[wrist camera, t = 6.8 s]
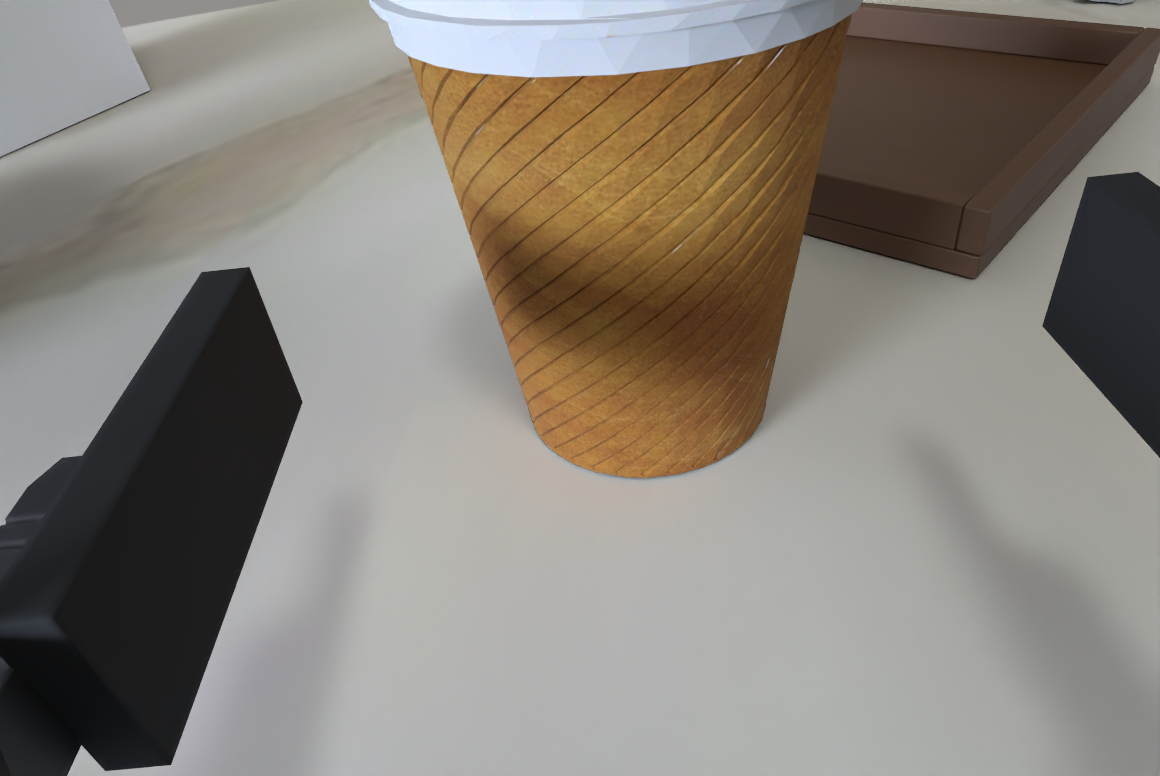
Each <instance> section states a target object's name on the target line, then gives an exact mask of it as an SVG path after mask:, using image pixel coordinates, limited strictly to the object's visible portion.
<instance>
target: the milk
mask: <svg viewBox="0 0 1160 776" xmlns="http://www.w3.org/2000/svg"><path fill="white" fill-rule="evenodd" d="M149 90H150V88H149V86H148V84H147V82H146V79H145V77H144V75H143V73H142V71H141V69H140V67H139V65H138V62H137V60H136V58H135V56H134V54H133V52H132V50H131V48H130V46H129V43H128V41H127V39H126V37H125V35H124V33H123V31H122V29H121V26H120V25H119V22H118V20H117V18H116V16H115V14H114V12H113V10H112V7H111V5H110V4H109V1H108V0H0V157H1V156H3V155H5V154H8V153H10V152H12V151H14V150H17V149H19V148H21V147H23V146H26V145H28V144H30V143H32V142H35V141H37V140H39V139H41V138H44V137H46V136H48V135H50V134H53V133H55V132H57V131H59V130H62V129H64V128H66V127H68V126H71V125H73V124H75V123H77V122H80V121H82V120H84V119H86V118H89V117H91V116H93V115H95V114H98V113H100V112H102V111H104V110H107V109H109V108H111V107H113V106H116V105H118V104H120V103H122V102H125V101H127V100H129V99H131V98H134V97H136V96H138V95H140V94H143V93H145V92H147V91H149Z"/></svg>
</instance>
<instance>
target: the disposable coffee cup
mask: <svg viewBox="0 0 1160 776" xmlns="http://www.w3.org/2000/svg"><path fill="white" fill-rule="evenodd" d="M862 1H863V0H369V2H370V6H371V7H372V8H373V9H374V11H375V12H376V13H377V14H378V15H379V16H380V18H381V19H382V20H385V21H388V24H389V28H390V31H391V34H392V37H393V40H394V43H395V45H396V46H397V47H398V48H400V49H401V50H402V51H403V52H405V53H406V54H407V55H408V57H409V60H410V64H411V66H412V68H413V70H414V73H415V77H416V80H417V83H418V87H419V90H420V93H421V96H422V98H423V100H424V102H425V105H426V108H427V111H428V114H429V117H430V120H431V123H432V125H433V129H434V132H435V135H436V138H437V141H438V144H439V147H440V149H441V152H442V155H443V158H444V161H445V164H446V167H447V170H448V173H449V176H450V179H451V182H452V184H453V188H454V191H455V194H456V197H457V200H458V203H459V205H460V208H461V210H462V214H463V217H464V220H465V223H466V226H467V229H468V232H469V234H470V236H471V237H470V238H471V241H472V244H473V246H474V249H475V252H476V255H477V258H478V262H479V265H480V268H481V270H482V273H483V276H484V279H485V282H486V285H487V288H488V291H489V294H490V297H491V300H492V302H493V305H494V306H495V308H494V309H495V312H496V314H497V317H498V320H499V323H500V326H501V329H502V332H503V335H504V338H505V341H506V343H507V346H508V349H509V352H510V355H511V358H512V361H513V364H514V367H515V370H516V373H517V376H518V379H519V382H520V385H521V386H522V387H521V388H522V391H523V394H524V397H525V400H526V403H527V404H528V408H529V412H530V415H531V419H532V422H533V424H534V427H535V429H536V431H537V433H538V434H539V436H540V437H541V439H542V440H543V442H544V443H545V444H547V445H548V446H549V447H550V448H551V449H552V450H553V451H554V452H555V453H557V454H558V455H560V456H561V457H563V458H565V459H567V460H568V461H570V462H572V463H574V464H575V465H578V466H581V467H584V468H587V469H589V470H592V471H595V472H599V473H605V474H611V475H617V476H623V477H639V478H649V477H658V476H667V475H675V474H680V473H684V472H687V471H691V470H695V469H699V468H702V467H704V466H707V465H709V464H712V463H714V462H716V461H719V460H721V459H722V458H724V457H725V456H727V455H729V454H730V453H732V452H733V451H735V450H737V449H738V448H739V447H740V446H741V445H742V444H743V443H744V442H745V441H746V440H748V439H749V438H750V437H751V436H752V434H753V433H754V431H755V430H756V428H757V427H758V425H759V424H760V422H761V420H762V417H763V413H764V410H765V407H766V399H767V395H768V390H769V385H770V381H771V376H772V372H773V367H774V363H775V358H776V353H777V349H778V345H779V340H780V335H781V331H782V327H783V322H784V317H785V313H786V308H787V304H788V300H789V295H790V291H791V286H792V282H793V278H794V274H795V268H796V264H797V260H798V255H799V251H800V245H801V241H802V237H803V233H804V228H805V222H806V218H807V214H808V210H809V205H810V201H811V195H812V191H813V187H814V182H815V178H816V174H817V168H818V164H819V160H820V155H821V151H822V147H823V142H824V137H825V132H826V128H827V124H828V119H829V115H830V110H831V105H832V101H833V97H834V92H835V88H836V84H837V78H838V74H839V69H840V65H841V60H842V56H843V52H844V47H845V41H846V37H847V32H848V29H849V26H850V22H851V18H852V13H853V12H855V11H856V10H858V8H859V7H860V5H861V3H862Z"/></svg>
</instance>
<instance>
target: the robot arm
mask: <svg viewBox="0 0 1160 776" xmlns="http://www.w3.org/2000/svg"><path fill="white" fill-rule="evenodd" d="M1043 327H1044V328H1045V329H1046V331H1047V332H1048V333H1049V334H1050V335H1051V336H1052V337H1053V338H1054V340H1055V341H1056V342H1057V343H1058V344H1059V345H1060V346H1061V347H1062V349H1063V350H1064V351H1065V352H1066V353H1067V354H1068V355H1069V356H1070V358H1071V359H1072V360H1073V361H1074V362H1075V363H1076V364H1077V365H1078V366H1079V368H1080V369H1081V370H1082V371H1083V372H1084V373H1085V374H1086V375H1087V377H1088V378H1089V379H1090V380H1091V381H1092V382H1093V383H1094V384H1095V386H1096V387H1097V388H1098V389H1099V390H1100V391H1101V392H1102V393H1103V395H1104V396H1105V397H1106V398H1107V399H1108V400H1109V401H1110V402H1111V403H1112V405H1113V406H1114V407H1115V408H1116V409H1117V410H1118V411H1119V412H1120V414H1121V415H1122V416H1123V417H1124V418H1125V419H1126V420H1127V421H1128V423H1129V424H1130V425H1131V426H1132V427H1133V428H1134V429H1135V430H1136V432H1137V433H1138V434H1139V435H1140V436H1141V437H1142V438H1143V439H1144V441H1145V442H1146V443H1147V444H1148V445H1149V446H1150V447H1151V448H1152V449H1153V451H1154V452H1155V453H1156V454H1157V455H1158V456H1159V457H1160V187H1159V186H1158V185H1156V184H1155V183H1153V182H1152V181H1150V180H1149V179H1147V178H1146V177H1145V176H1143V175H1142V174H1140V173H1139V172H1133V173H1124V174H1115V175H1105V176H1096V177H1088V178H1087V181H1086V185H1085V188H1084V191H1083V195H1082V198H1081V201H1080V204H1079V208H1078V211H1077V214H1076V218H1075V221H1074V224H1073V227H1072V231H1071V234H1070V237H1069V241H1068V244H1067V247H1066V250H1065V254H1064V257H1063V260H1062V264H1061V267H1060V270H1059V273H1058V277H1057V280H1056V283H1055V287H1054V290H1053V293H1052V296H1051V300H1050V303H1049V306H1048V310H1047V313H1046V316H1045V319H1044V323H1043ZM301 405H302V400H301V397H300V394H299V392H298V389H297V387H296V384H295V382H294V379H293V377H292V374H291V372H290V369H289V367H288V364H287V361H286V359H285V356H284V354H283V351H282V349H281V346H280V344H279V341H278V339H277V336H276V334H275V331H274V328H273V326H272V323H271V321H270V318H269V316H268V313H267V311H266V308H265V306H264V303H263V301H262V298H261V295H260V293H259V290H258V288H257V285H256V283H255V280H254V278H253V275H252V273H251V270H250V268H249V267H246V268H237V269H227V270H218V271H209V272H202V273H201V274H200V276H199V277H198V279H197V280H196V282H195V283H194V285H193V286H192V288H191V290H190V291H189V293H188V294H187V296H186V297H185V299H184V300H183V302H182V303H181V305H180V306H179V308H178V310H177V311H176V313H175V314H174V316H173V317H172V319H171V320H170V322H169V323H168V325H167V326H166V328H165V330H164V331H163V333H162V334H161V336H160V337H159V339H158V340H157V342H156V343H155V345H154V346H153V348H152V350H151V351H150V353H149V354H148V356H147V357H146V359H145V360H144V362H143V363H142V365H141V366H140V368H139V370H138V371H137V373H136V374H135V376H134V377H133V379H132V380H131V382H130V383H129V385H128V386H127V388H126V390H125V391H124V393H123V394H122V396H121V397H120V399H119V400H118V402H117V403H116V405H115V406H114V408H113V410H112V411H111V413H110V414H109V416H108V417H107V419H106V420H105V422H104V423H103V425H102V427H101V428H100V430H99V431H98V433H97V434H96V436H95V437H94V439H93V440H92V442H91V443H90V445H89V447H88V448H87V450H86V451H85V453H84V454H83V456H76V457H66V458H62V459H60V460H59V461H58V462H57V463H56V464H54V465H53V466H52V467H51V468H50V469H49V470H47V471H46V472H45V473H44V474H43V475H41V476H40V477H39V478H38V479H37V480H36V481H34V482H33V483H32V484H31V485H30V486H28V487H27V489H26V490H25V492H24V493H23V495H22V496H21V497H20V499H19V500H18V502H17V503H16V505H15V506H14V507H13V509H12V510H11V512H10V513H9V515H8V516H7V517H6V519H5V520H6V525H2V526H0V776H67V775H68V772H69V770H70V768H71V766H72V764H73V762H74V759H75V757H76V755H77V753H78V751H79V749H80V746H81V745H82V746H83V747H84V748H85V749H86V750H87V751H88V752H89V754H90V755H91V756H92V757H93V758H94V759H95V760H96V761H97V762H98V763H99V764H100V766H101V767H102V768H103V769H104V770H105V771H110V770H121V769H132V768H143V767H153V766H164V765H171V763H172V761H173V758H174V755H175V752H176V750H177V747H178V744H179V741H180V739H181V736H182V733H183V730H184V728H185V725H186V722H187V719H188V716H189V714H190V711H191V708H192V705H193V703H194V700H195V697H196V694H197V692H198V689H199V686H200V683H201V681H202V678H203V675H204V672H205V670H206V667H207V664H208V661H209V659H210V656H211V653H212V650H213V648H214V645H215V642H216V639H217V637H218V634H219V631H220V628H221V625H222V623H223V620H224V617H225V614H226V612H227V609H228V606H229V603H230V601H231V598H232V595H233V592H234V590H235V587H236V584H237V581H238V579H239V576H240V573H241V570H242V568H243V565H244V562H245V559H246V557H247V554H248V551H249V548H250V545H251V543H252V540H253V537H254V534H255V532H256V529H257V526H258V523H259V521H260V518H261V515H262V512H263V510H264V507H265V504H266V501H267V499H268V496H269V493H270V490H271V488H272V485H273V482H274V479H275V477H276V474H277V471H278V468H279V465H280V463H281V460H282V457H283V454H284V452H285V449H286V446H287V443H288V441H289V438H290V435H291V432H292V430H293V427H294V424H295V421H296V419H297V416H298V413H299V410H300V408H301Z"/></svg>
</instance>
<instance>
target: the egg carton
mask: <svg viewBox="0 0 1160 776" xmlns="http://www.w3.org/2000/svg"><path fill="white" fill-rule="evenodd" d="M1090 1H1097V2H1111V3H1118V4H1124V3H1130V2H1133V1H1135V0H1090Z"/></svg>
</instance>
